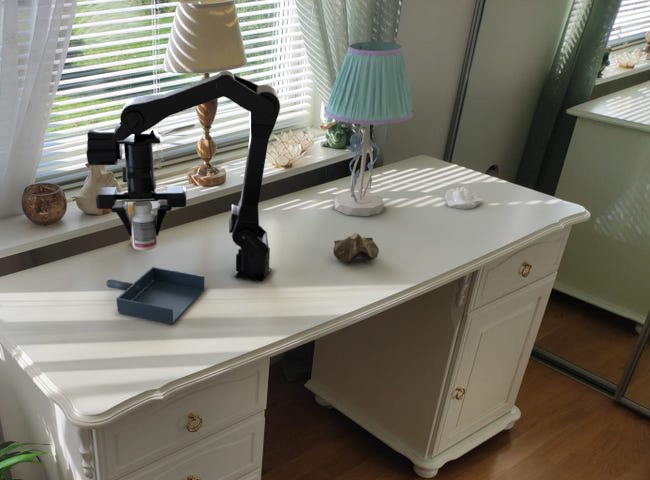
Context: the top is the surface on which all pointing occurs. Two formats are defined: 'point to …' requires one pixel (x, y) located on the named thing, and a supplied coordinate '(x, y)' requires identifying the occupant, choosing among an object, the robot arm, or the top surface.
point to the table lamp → (368, 110)
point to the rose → (462, 198)
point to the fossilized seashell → (355, 248)
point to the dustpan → (158, 294)
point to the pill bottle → (143, 226)
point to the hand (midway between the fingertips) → (144, 235)
